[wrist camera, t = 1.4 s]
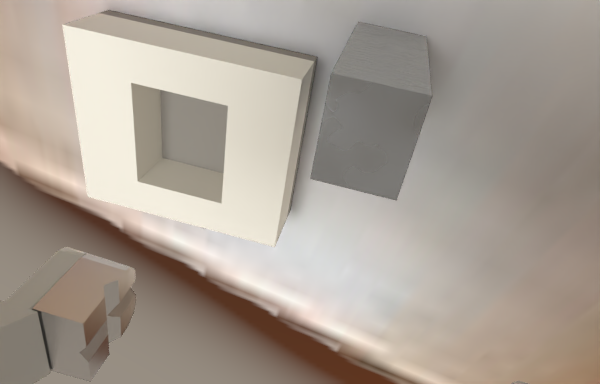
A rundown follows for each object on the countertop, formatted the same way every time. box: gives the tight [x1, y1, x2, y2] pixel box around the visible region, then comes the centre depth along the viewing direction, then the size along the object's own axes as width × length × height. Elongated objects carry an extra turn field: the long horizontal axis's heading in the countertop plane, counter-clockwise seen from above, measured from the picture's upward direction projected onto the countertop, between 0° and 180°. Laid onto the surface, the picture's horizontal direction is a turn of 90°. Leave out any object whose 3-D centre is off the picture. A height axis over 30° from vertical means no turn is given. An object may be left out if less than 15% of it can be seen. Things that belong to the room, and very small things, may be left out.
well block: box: [63, 10, 317, 247], centre depth 29 cm, size 14×12×4 cm
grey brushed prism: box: [310, 22, 432, 200], centre depth 22 cm, size 4×5×10 cm
